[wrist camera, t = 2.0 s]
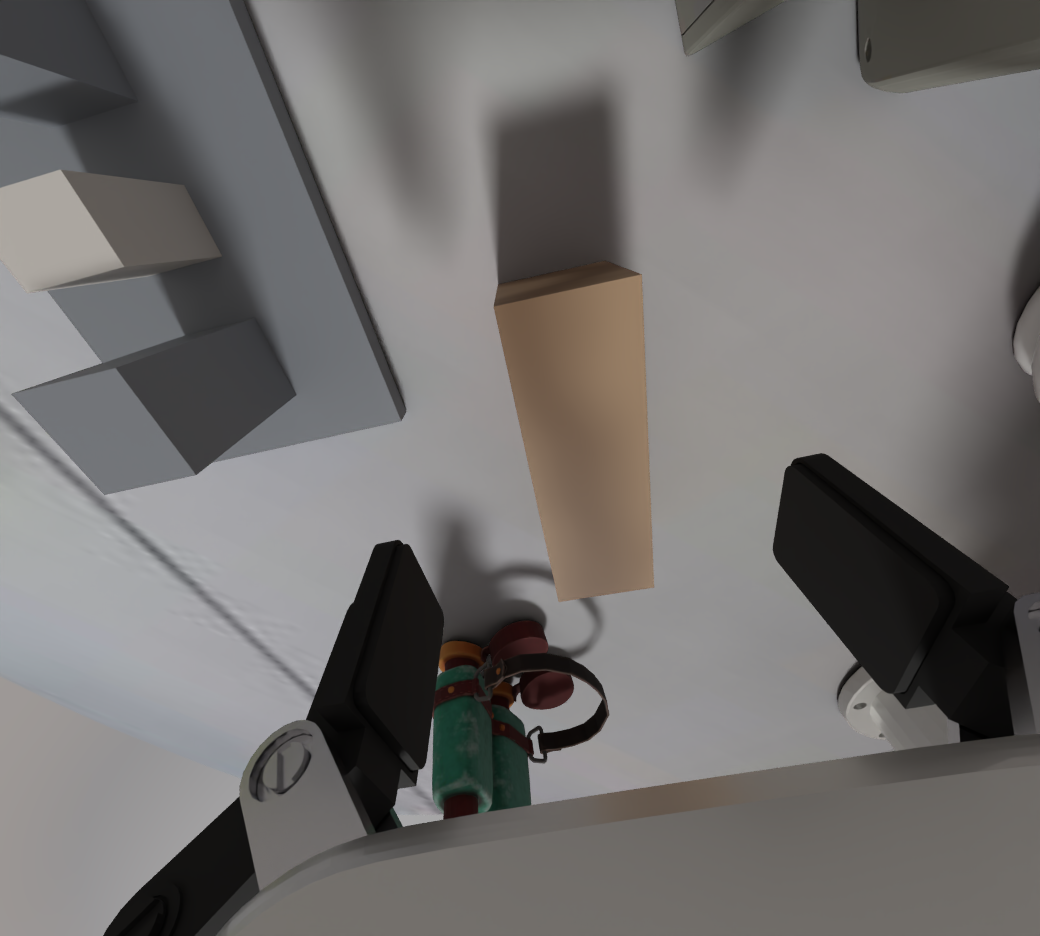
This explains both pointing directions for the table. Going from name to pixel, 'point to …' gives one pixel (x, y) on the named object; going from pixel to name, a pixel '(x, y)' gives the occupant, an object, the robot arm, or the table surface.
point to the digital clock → (904, 37)
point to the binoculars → (499, 718)
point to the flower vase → (1029, 341)
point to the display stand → (175, 241)
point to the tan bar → (584, 421)
